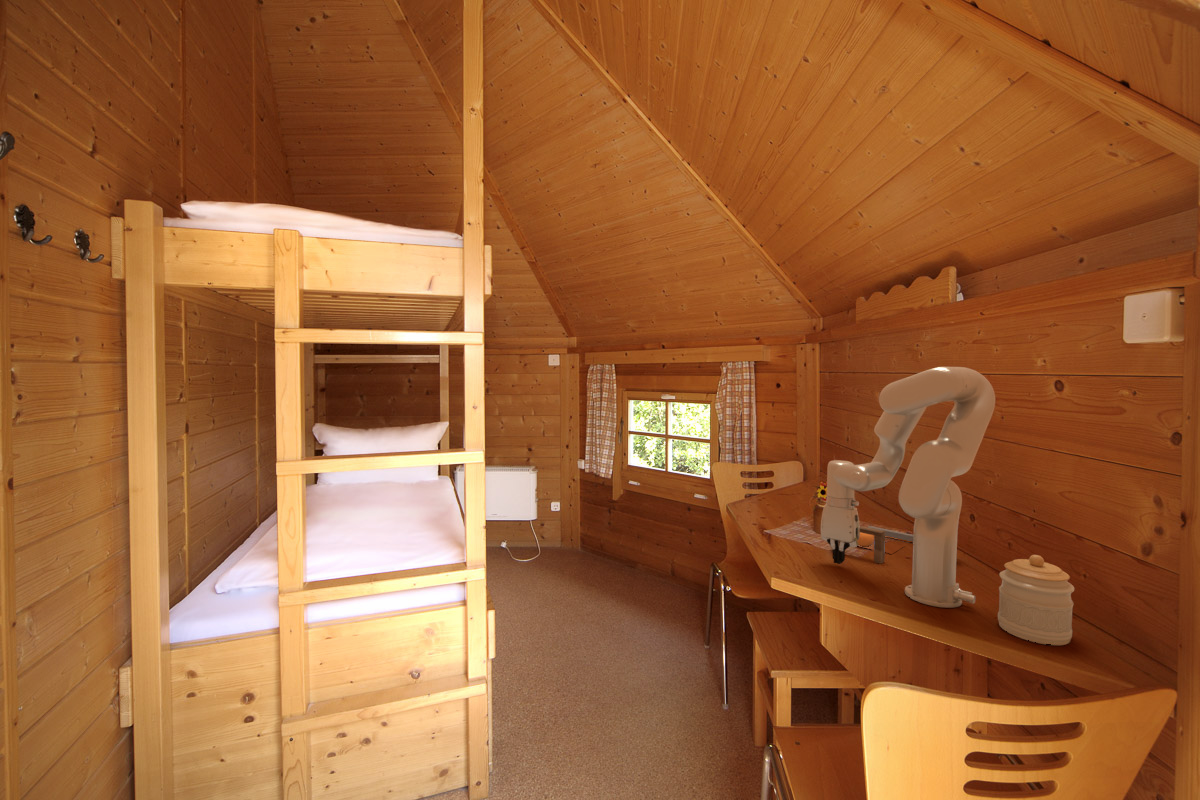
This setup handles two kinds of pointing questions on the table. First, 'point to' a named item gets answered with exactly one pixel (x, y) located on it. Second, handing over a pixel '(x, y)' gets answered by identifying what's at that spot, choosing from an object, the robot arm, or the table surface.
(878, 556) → the bridge
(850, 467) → the robot arm
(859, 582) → the table surface
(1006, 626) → the jar
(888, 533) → the grey long bar
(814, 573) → the table surface
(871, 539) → the ball
